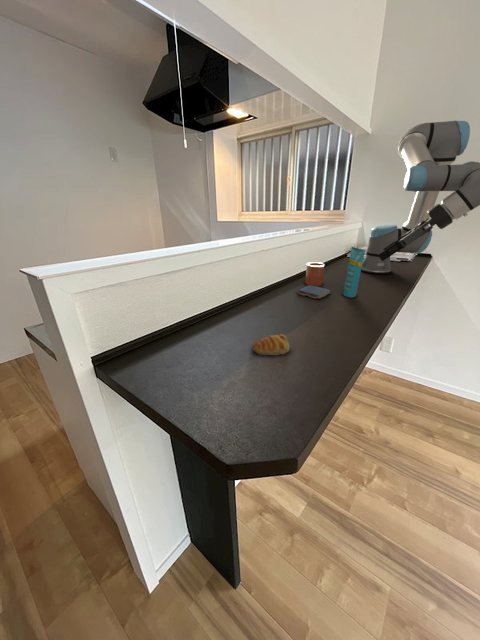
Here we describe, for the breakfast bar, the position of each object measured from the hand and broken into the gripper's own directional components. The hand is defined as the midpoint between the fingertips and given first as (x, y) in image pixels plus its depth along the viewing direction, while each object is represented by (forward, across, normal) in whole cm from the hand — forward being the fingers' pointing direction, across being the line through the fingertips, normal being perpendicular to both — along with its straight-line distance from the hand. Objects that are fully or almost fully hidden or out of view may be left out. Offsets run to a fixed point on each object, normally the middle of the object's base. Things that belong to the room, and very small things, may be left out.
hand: (382, 254), depth 96 cm
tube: (+19, 0, -6) cm, 20 cm away
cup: (+31, +8, +6) cm, 33 cm away
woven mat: (+28, -6, +3) cm, 29 cm away
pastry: (+24, -55, -1) cm, 60 cm away
